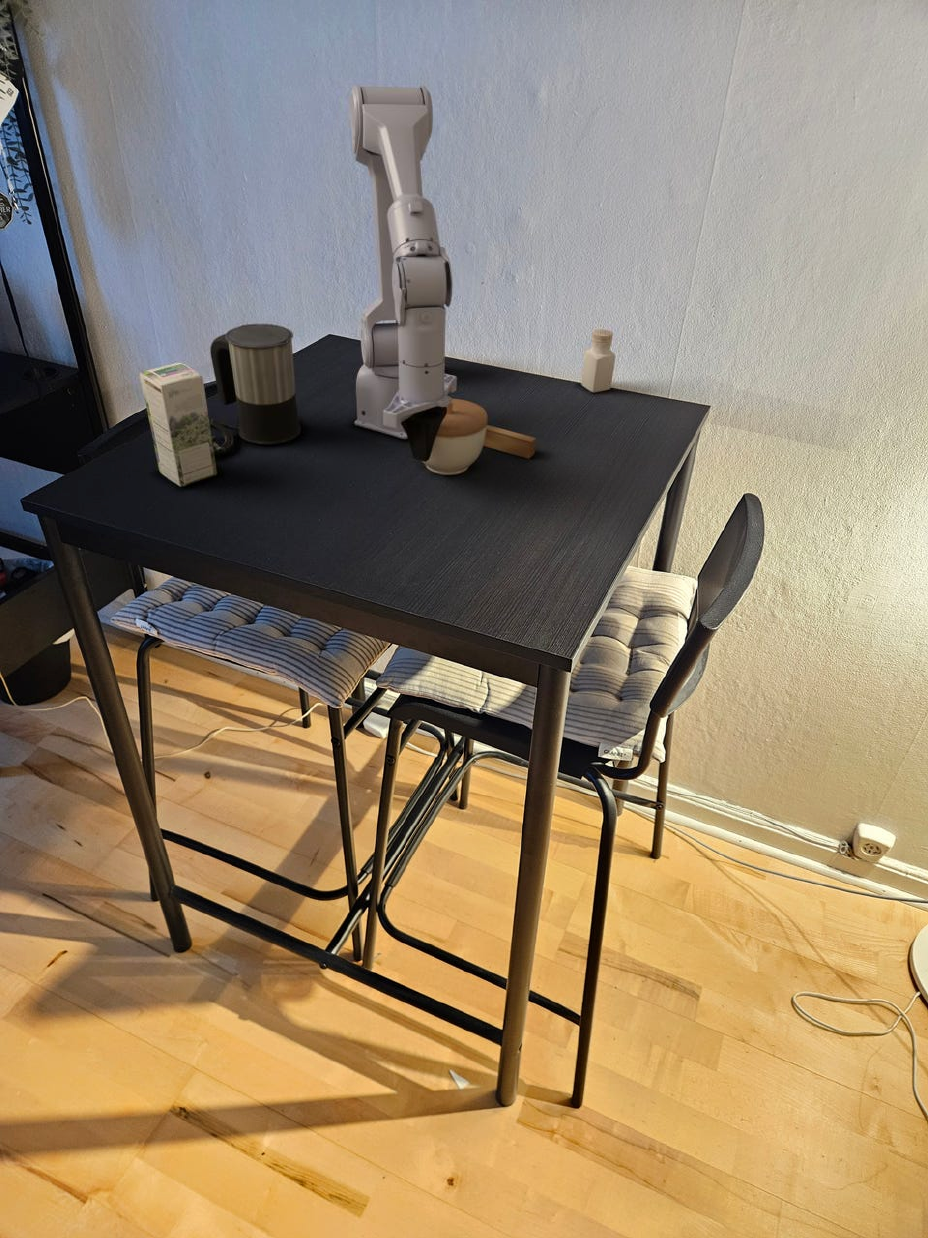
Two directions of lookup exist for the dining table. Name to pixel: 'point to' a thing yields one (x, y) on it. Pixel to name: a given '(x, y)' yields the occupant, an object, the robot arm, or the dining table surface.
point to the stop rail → (509, 442)
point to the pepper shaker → (598, 362)
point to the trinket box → (458, 438)
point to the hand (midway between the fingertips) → (421, 458)
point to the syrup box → (179, 423)
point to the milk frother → (256, 384)
